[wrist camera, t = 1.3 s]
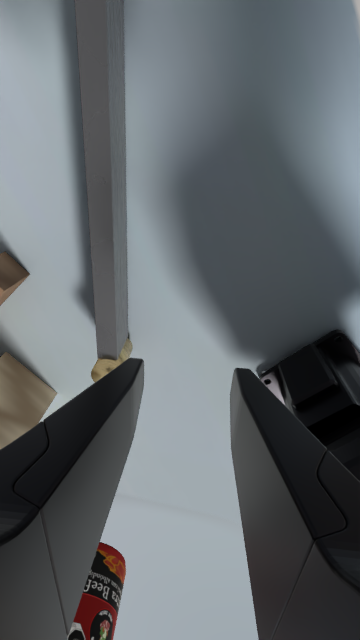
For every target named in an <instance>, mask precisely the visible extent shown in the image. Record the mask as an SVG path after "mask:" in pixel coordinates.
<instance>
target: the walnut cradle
mask: <svg viewBox="0 0 360 640" xmlns="http://www.w3.org/2000/svg"><path fill="white" fill-rule="evenodd" d="M29 275H30V274H29V273H28V272H27V271H26V270H25V269H24V268H23V267H21V266H20V265H19V264H18V263H17V262H16V261H15V260H14V259H13V258H12V257H11V256H9V255H8V254H7V253H6V252H3V253H1V254H0V305H1V304H2V303H3V302H4V301H5V300H6V299H7V298H8V297H9V296H10V295H11V294H12V293H13V292H14V291H15V289H16V288H17V287H18V286H19V285H20V284H21V283H22V282H23V281H24V280H25V279H26V278H27V277H28V276H29Z"/></svg>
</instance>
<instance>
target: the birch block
mask: <svg viewBox="0 0 360 640" xmlns="http://www.w3.org/2000/svg"><path fill="white" fill-rule="evenodd" d="M56 395H57V393H56V392H55V391H54V390H53V389H52V388H50V387H49V386H48V385H47V384H45V383H44V382H43V381H42V380H40V379H39V378H38V377H37V376H36V375H34V374H33V373H32V372H31V371H29V370H28V369H27V368H26V367H24V366H23V365H22V364H21V363H19V362H18V361H17V360H16V359H15V358H13V357H12V356H11V355H10V354H8V353H7V352H5V353H4V354H3V355H2V356H1V357H0V449H2V448H3V447H5V446H7V445H8V444H10V443H11V442H13V441H14V440H16V439H17V438H19V437H20V436H21V435H23V434H24V433H26V432H27V431H29V430H30V429H32V428H33V427H34V426H36V425H37V424H38V423H39V421H40V420H41V418H42V416H43V415H44V413H45V412H46V410H47V409H48V407H49V406H50V404H51V402H52V401H53V399H54V398H55V396H56Z"/></svg>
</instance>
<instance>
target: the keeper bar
mask: <svg viewBox="0 0 360 640" xmlns="http://www.w3.org/2000/svg"><path fill="white" fill-rule="evenodd" d="M75 13H76V29H77V44H78V60H79V75H80V91H81V106H82V122H83V137H84V153H85V168H86V184H87V199H88V215H89V230H90V245H91V261H92V276H93V292H94V307H95V323H96V338H97V354H98V360H97V362H96V364H95V366H94V367H93V369H92V372H91V376H92V379H93V381H94V382H97V381H98V380H99V379H101V378H102V377H104V376H105V375H106V374H108V373H109V372H110V371H112V370H113V369H115V368H116V367H117V366H119V365H120V364H122V363H123V362H124V361H126V360H127V359H129V357H130V354H131V352H132V348H133V347H132V343H131V341H130V340H129V339H128V338H127V337H128V287H127V211H126V136H125V61H124V0H75Z"/></svg>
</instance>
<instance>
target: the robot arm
mask: <svg viewBox="0 0 360 640" xmlns="http://www.w3.org/2000/svg"><path fill="white" fill-rule="evenodd" d="M338 336H340V338H339V339H337V340H335V338H336V337H338ZM265 379H270V380H269V381H264V380H265ZM143 387H144V361H143V359H138V358H129V359H127V360H126V361H124V362H123V363H122V364H120V365H119V366H117V367H116V368H115V369H113V370H112V371H110V372H109V373H108V374H106V375H105V376H104V377H102V378H101V379H99V380H98V381H97V382H95V383H94V384H93V385H91V386H90V387H88V388H87V389H86V390H84V391H83V392H81V393H80V394H79V395H77V396H76V397H75V398H73V399H72V400H70V401H69V402H68V403H66V404H65V405H63V406H62V407H61V408H59V409H58V410H57V411H55V412H54V413H52V414H51V415H50V416H48V417H47V418H46V419H44V422H40V423H38V424H37V425H36V426H34V427H33V428H32V429H30V430H29V431H27V432H26V433H24V434H23V435H21V436H20V437H19V438H17V439H16V440H14V441H13V442H11V443H10V444H8V445H7V446H5V447H3V448H2V449H0V640H67V636H68V635H69V633H70V630H71V627H72V624H73V620H74V617H75V614H76V611H77V608H78V605H79V602H80V599H81V596H82V593H83V590H84V587H85V584H86V581H87V578H88V575H89V572H90V569H91V566H92V563H93V560H94V557H95V554H96V551H97V548H98V545H99V542H100V539H101V536H102V532H103V529H104V526H105V523H106V520H107V517H108V514H109V511H110V508H111V505H112V502H113V499H114V496H115V493H116V490H117V487H118V484H119V481H120V478H121V475H122V472H123V469H124V466H125V463H126V460H127V457H128V454H129V451H130V448H131V444H132V441H133V438H134V433H135V429H136V424H137V419H138V414H139V408H140V403H141V398H142V393H143ZM230 425H231V450H232V458H233V465H234V472H235V479H236V486H237V493H238V500H239V507H240V514H241V520H242V527H243V534H244V541H245V548H246V555H247V562H248V568H249V575H250V583H251V589H252V596H253V603H254V609H255V616H256V624H257V631H258V637H259V640H360V354H359V352H358V351H357V350H356V348H355V347H354V346H353V344H352V343H351V342H350V340H349V339H348V338H347V336H346V335H345V334H344V333H343V332H342V331H341V330H335V331H332V332H331V333H329V334H327V335H326V336H324V337H322V338H321V339H319V340H317V341H316V342H314V343H313V344H310V345H308V346H306V347H304V348H303V349H301V350H300V351H298V352H296V353H295V354H293V355H291V356H290V357H288V358H286V359H285V360H283V361H282V362H280V363H279V364H278V365H276V366H275V367H273V368H271V369H270V370H268V371H267V372H265V373H263V374H262V375H261V376H260V379H259V378H258V377H257V376H256V375H255V374H254V373H253V372H252V371H251V370H250V369H245V368H235V370H234V374H233V380H232V386H231V392H230Z"/></svg>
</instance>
